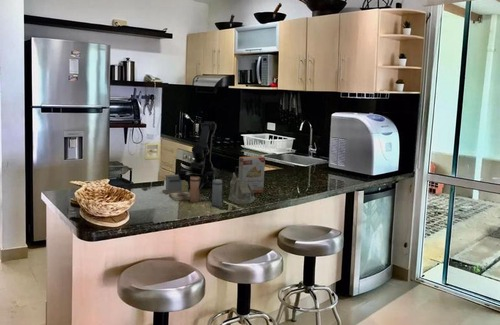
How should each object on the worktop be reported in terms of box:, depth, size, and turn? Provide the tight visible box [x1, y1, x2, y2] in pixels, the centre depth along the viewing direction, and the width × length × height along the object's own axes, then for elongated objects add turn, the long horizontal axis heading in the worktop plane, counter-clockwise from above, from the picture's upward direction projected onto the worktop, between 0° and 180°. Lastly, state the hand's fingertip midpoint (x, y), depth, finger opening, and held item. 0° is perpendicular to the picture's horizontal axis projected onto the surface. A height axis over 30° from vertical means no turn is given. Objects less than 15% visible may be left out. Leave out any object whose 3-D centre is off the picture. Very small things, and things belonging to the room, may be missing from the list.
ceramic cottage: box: [227, 172, 256, 205], centre depth 242 cm, size 16×16×15 cm
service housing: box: [162, 174, 186, 195], centre depth 254 cm, size 11×7×10 cm, turn 117°
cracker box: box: [237, 155, 266, 194], centre depth 258 cm, size 14×6×21 cm, turn 117°
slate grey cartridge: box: [211, 178, 223, 207], centre depth 229 cm, size 5×5×13 cm
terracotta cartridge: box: [189, 176, 201, 203], centre depth 235 cm, size 5×5×13 cm
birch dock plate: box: [168, 191, 190, 202], centre depth 243 cm, size 12×11×2 cm
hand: (194, 189), depth 234 cm, fingers closed on terracotta cartridge, 5 cm apart
